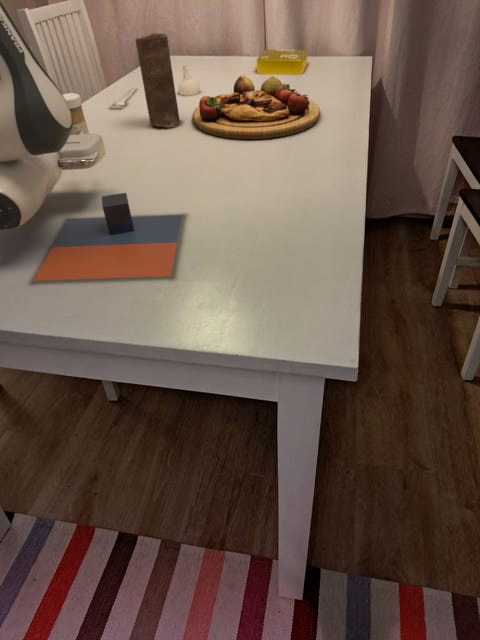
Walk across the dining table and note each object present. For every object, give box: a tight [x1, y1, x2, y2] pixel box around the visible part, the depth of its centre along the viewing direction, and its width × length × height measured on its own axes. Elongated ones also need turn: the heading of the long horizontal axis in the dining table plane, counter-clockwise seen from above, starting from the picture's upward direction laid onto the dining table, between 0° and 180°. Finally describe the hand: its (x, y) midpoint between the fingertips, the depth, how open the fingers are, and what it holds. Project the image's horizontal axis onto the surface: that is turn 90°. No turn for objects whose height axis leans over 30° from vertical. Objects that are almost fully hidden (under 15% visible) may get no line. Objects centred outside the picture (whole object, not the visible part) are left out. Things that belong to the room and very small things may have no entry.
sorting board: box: [33, 214, 183, 282], centre depth 74 cm, size 20×18×1 cm
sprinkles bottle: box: [62, 92, 90, 135], centre depth 97 cm, size 5×5×13 cm
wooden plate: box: [192, 74, 321, 140], centre depth 115 cm, size 32×32×8 cm
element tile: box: [256, 49, 308, 75], centre depth 153 cm, size 15×15×5 cm
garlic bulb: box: [177, 63, 201, 97], centre depth 135 cm, size 6×6×8 cm
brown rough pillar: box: [135, 32, 181, 128], centre depth 110 cm, size 8×7×20 cm
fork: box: [109, 88, 136, 109], centre depth 134 cm, size 3×20×2 cm, turn 174°
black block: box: [101, 192, 134, 235], centre depth 76 cm, size 4×4×5 cm
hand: (57, 136), depth 87 cm, fingers open, 8 cm apart
